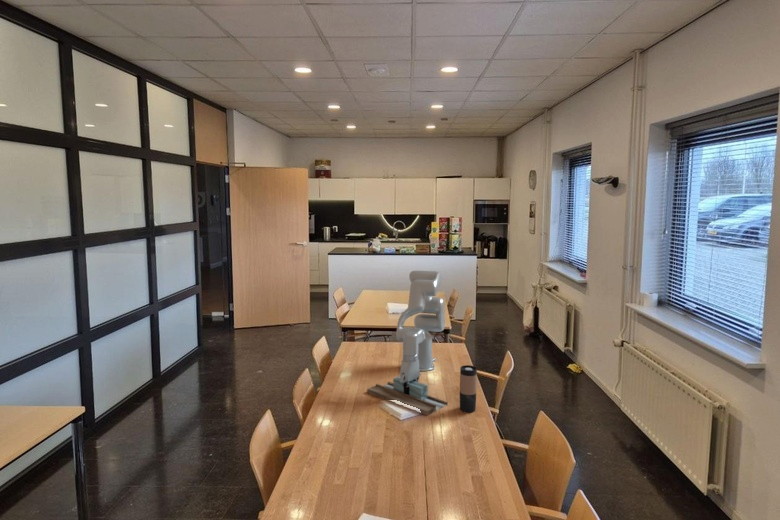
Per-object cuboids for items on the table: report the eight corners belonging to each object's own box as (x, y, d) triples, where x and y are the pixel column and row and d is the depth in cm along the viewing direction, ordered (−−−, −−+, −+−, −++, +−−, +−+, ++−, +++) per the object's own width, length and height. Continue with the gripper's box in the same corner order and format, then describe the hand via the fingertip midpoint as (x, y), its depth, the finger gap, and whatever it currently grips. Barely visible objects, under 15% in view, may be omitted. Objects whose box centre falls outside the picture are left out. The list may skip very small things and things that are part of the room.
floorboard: (388, 383, 253) (388, 378, 253) (447, 404, 228) (447, 399, 227) (367, 392, 241) (367, 387, 241) (426, 415, 216) (426, 409, 216)
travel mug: (477, 407, 224) (478, 366, 222) (473, 414, 217) (474, 372, 215) (462, 404, 227) (462, 364, 225) (457, 411, 221) (458, 369, 218)
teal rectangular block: (399, 387, 245) (399, 376, 244) (427, 397, 233) (427, 385, 232) (393, 390, 241) (393, 378, 240) (421, 400, 229) (421, 388, 228)
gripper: (415, 351, 243) (415, 385, 245) (393, 359, 231) (393, 395, 233) (427, 354, 238) (426, 389, 240) (404, 363, 226) (404, 400, 228)
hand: (410, 392), depth 237 cm, fingers closed on teal rectangular block, 5 cm apart
